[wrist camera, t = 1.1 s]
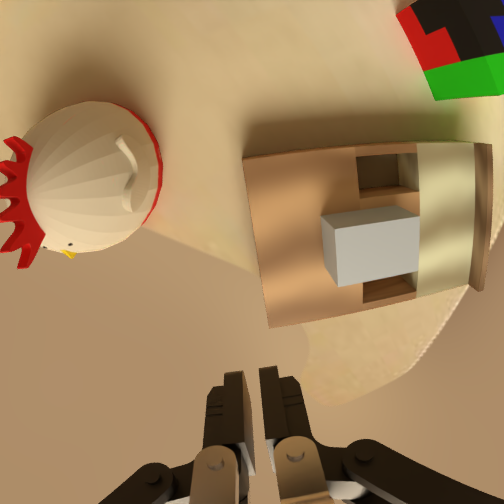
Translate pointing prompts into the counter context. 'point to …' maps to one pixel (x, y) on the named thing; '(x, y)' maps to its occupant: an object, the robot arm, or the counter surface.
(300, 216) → the board
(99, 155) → the kitchen timer
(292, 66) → the counter surface
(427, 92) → the counter surface
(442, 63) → the puzzle toy
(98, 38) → the counter surface
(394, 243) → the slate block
